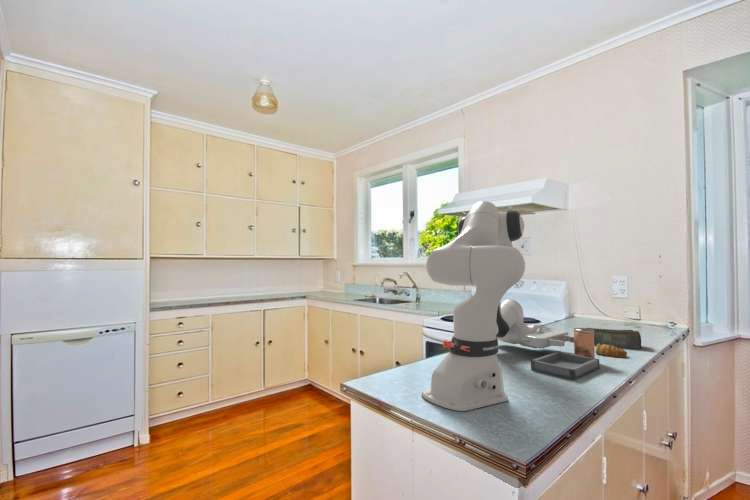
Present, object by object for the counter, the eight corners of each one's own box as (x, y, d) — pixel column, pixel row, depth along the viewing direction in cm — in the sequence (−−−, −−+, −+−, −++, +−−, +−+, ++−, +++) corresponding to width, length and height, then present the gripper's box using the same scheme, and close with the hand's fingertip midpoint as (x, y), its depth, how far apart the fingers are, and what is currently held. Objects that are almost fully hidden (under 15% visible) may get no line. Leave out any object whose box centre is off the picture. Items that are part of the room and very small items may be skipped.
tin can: (590, 365, 119) (589, 331, 119) (571, 361, 123) (570, 329, 124) (598, 362, 122) (597, 329, 123) (579, 358, 127) (578, 327, 127)
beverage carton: (585, 340, 156) (585, 325, 156) (640, 346, 145) (639, 329, 146) (584, 344, 149) (584, 328, 149) (642, 350, 139) (641, 333, 139)
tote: (573, 380, 104) (573, 369, 104) (531, 369, 114) (530, 360, 114) (599, 368, 115) (599, 359, 115) (558, 360, 125) (558, 351, 125)
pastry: (628, 355, 131) (627, 345, 131) (625, 359, 126) (625, 348, 126) (598, 351, 137) (598, 341, 137) (594, 355, 132) (594, 344, 132)
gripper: (517, 330, 131) (555, 336, 120) (545, 324, 144) (582, 329, 133) (517, 348, 131) (555, 355, 120) (545, 340, 144) (582, 346, 133)
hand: (569, 342), depth 127 cm, fingers open, 8 cm apart
